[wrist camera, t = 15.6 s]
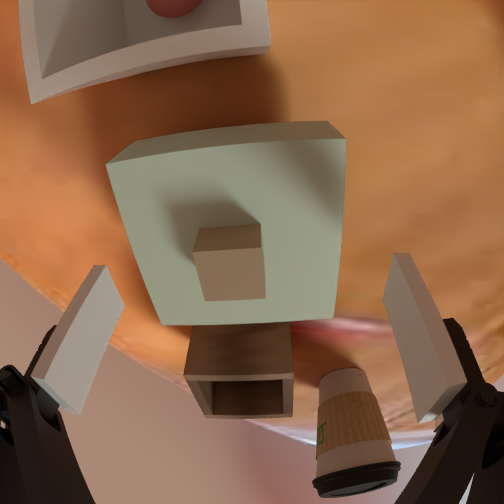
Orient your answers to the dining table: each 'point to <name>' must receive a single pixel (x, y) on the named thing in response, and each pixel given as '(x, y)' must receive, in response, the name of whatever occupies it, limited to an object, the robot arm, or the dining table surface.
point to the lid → (236, 221)
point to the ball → (172, 7)
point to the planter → (129, 39)
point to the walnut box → (241, 370)
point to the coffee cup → (351, 438)
